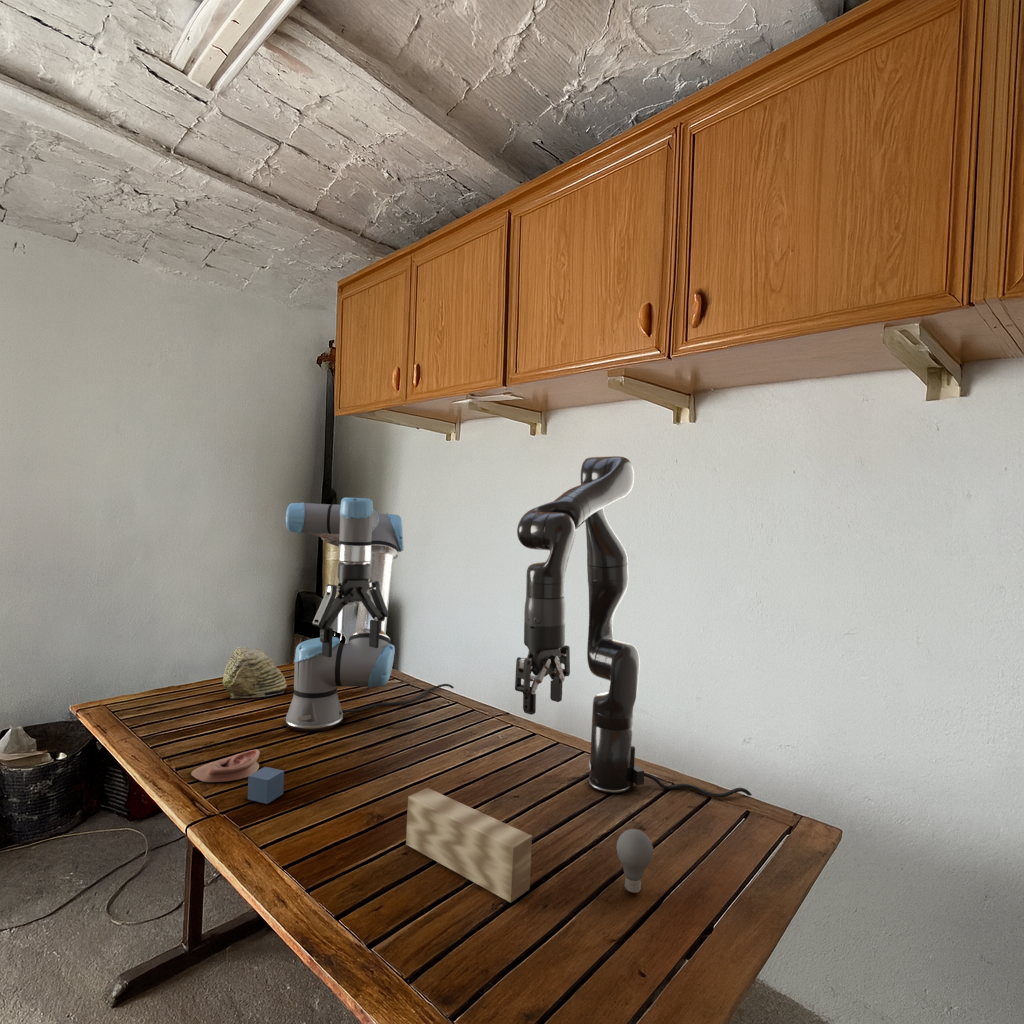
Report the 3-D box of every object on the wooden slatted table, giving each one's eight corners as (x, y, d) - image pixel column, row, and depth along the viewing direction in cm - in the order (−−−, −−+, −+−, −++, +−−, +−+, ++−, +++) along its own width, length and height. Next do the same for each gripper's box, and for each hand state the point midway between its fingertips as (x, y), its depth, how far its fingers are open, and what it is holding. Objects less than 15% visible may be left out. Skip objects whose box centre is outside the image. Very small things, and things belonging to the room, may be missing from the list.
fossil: (218, 695, 195) (220, 647, 195) (278, 685, 208) (279, 640, 207) (228, 703, 189) (230, 653, 188) (289, 692, 201) (290, 645, 201)
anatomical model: (182, 760, 139) (216, 741, 150) (181, 778, 139) (216, 758, 150) (236, 768, 136) (267, 748, 147) (235, 786, 136) (266, 765, 147)
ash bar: (405, 844, 117) (407, 796, 117) (425, 834, 121) (427, 787, 121) (510, 903, 101) (513, 847, 101) (529, 889, 105) (532, 835, 105)
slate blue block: (264, 789, 136) (265, 766, 136) (283, 793, 134) (284, 770, 134) (247, 799, 131) (248, 775, 131) (267, 804, 130) (268, 780, 130)
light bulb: (610, 879, 108) (613, 822, 108) (644, 879, 109) (647, 822, 109) (619, 902, 102) (622, 840, 102) (655, 901, 103) (658, 840, 103)
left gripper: (385, 558, 162) (381, 641, 163) (298, 563, 143) (295, 657, 143) (404, 561, 158) (401, 646, 158) (318, 567, 138) (314, 663, 139)
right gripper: (549, 611, 124) (548, 693, 125) (504, 623, 113) (503, 712, 114) (582, 617, 120) (580, 701, 121) (538, 630, 109) (537, 723, 109)
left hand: (351, 651), depth 151 cm, fingers open, 13 cm apart
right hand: (543, 706), depth 117 cm, fingers open, 8 cm apart
